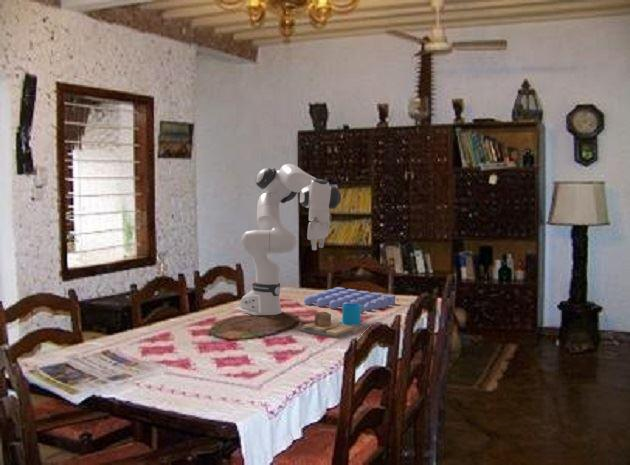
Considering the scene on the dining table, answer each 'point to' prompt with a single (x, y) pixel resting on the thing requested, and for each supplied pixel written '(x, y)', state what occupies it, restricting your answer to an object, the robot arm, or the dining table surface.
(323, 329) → the tan flat slab
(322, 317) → the block
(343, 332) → the underlay
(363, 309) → the blue flat bumpy slab
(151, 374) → the dining table surface
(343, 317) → the mug
